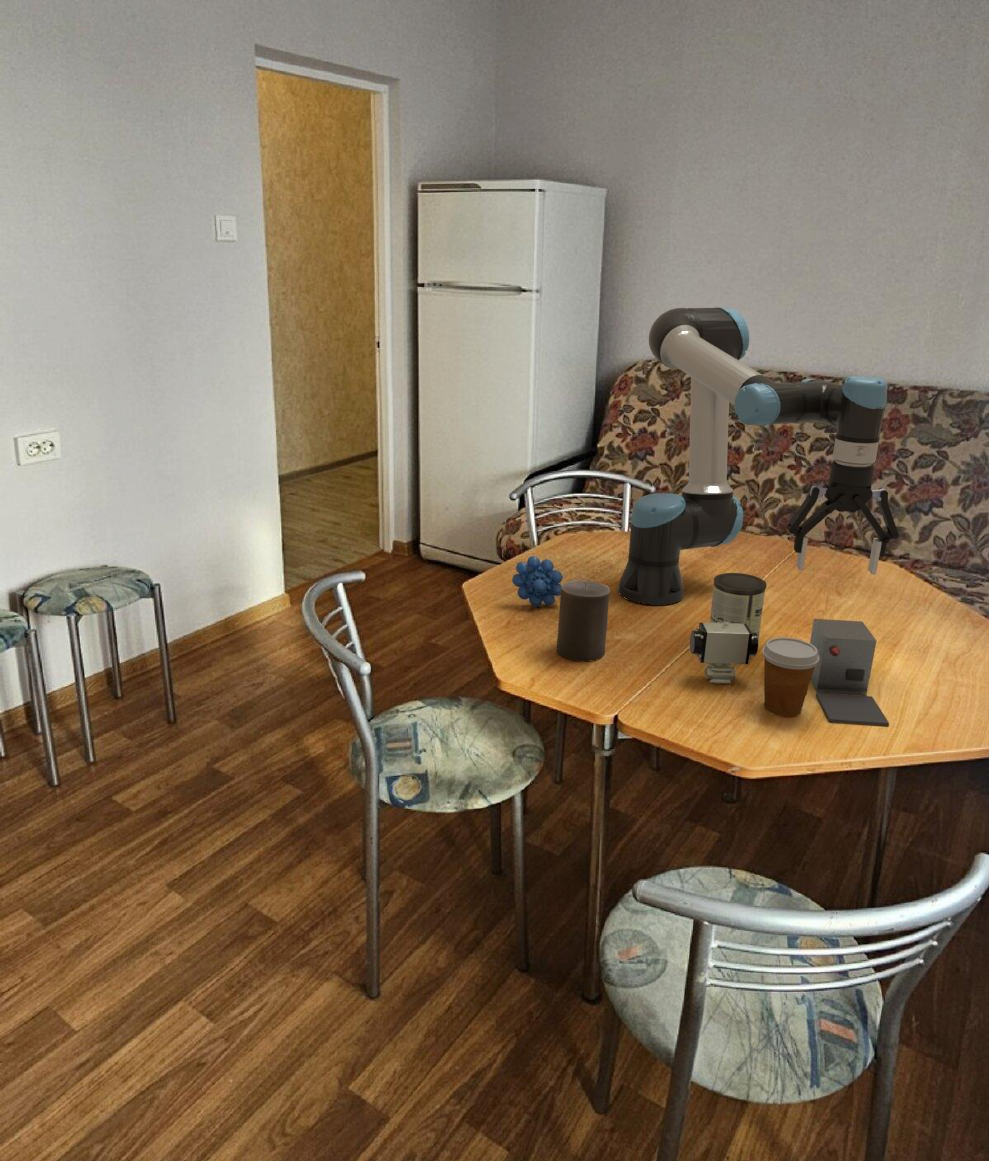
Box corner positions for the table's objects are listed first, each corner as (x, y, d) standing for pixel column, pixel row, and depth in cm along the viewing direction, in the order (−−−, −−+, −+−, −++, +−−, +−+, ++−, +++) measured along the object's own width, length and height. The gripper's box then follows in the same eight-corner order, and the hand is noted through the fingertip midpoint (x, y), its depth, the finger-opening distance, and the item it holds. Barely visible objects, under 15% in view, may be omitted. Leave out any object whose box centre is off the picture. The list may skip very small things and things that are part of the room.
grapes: (513, 614, 199) (515, 562, 195) (509, 602, 206) (511, 552, 201) (565, 613, 200) (568, 562, 196) (560, 602, 207) (563, 552, 203)
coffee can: (709, 632, 193) (716, 569, 188) (759, 639, 190) (768, 576, 185) (703, 650, 183) (711, 585, 179) (756, 658, 180) (765, 593, 176)
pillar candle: (575, 665, 175) (581, 593, 170) (546, 647, 183) (551, 577, 178) (614, 656, 180) (621, 585, 175) (585, 638, 188) (590, 570, 183)
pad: (829, 722, 157) (829, 719, 156) (815, 695, 166) (815, 692, 166) (888, 726, 156) (889, 723, 155) (871, 699, 165) (872, 696, 165)
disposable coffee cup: (748, 712, 159) (756, 650, 155) (763, 691, 167) (771, 632, 163) (802, 727, 155) (813, 664, 150) (816, 705, 162) (826, 644, 158)
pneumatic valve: (753, 687, 168) (761, 628, 164) (690, 685, 168) (696, 626, 164) (746, 674, 174) (753, 616, 169) (685, 672, 174) (691, 614, 170)
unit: (817, 693, 167) (826, 638, 163) (805, 670, 176) (813, 618, 172) (867, 696, 166) (877, 642, 162) (852, 673, 175) (862, 620, 171)
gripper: (788, 463, 165) (773, 573, 172) (930, 470, 163) (908, 580, 170) (780, 455, 172) (766, 560, 179) (916, 461, 170) (896, 567, 177)
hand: (835, 570), depth 175 cm, fingers open, 13 cm apart
